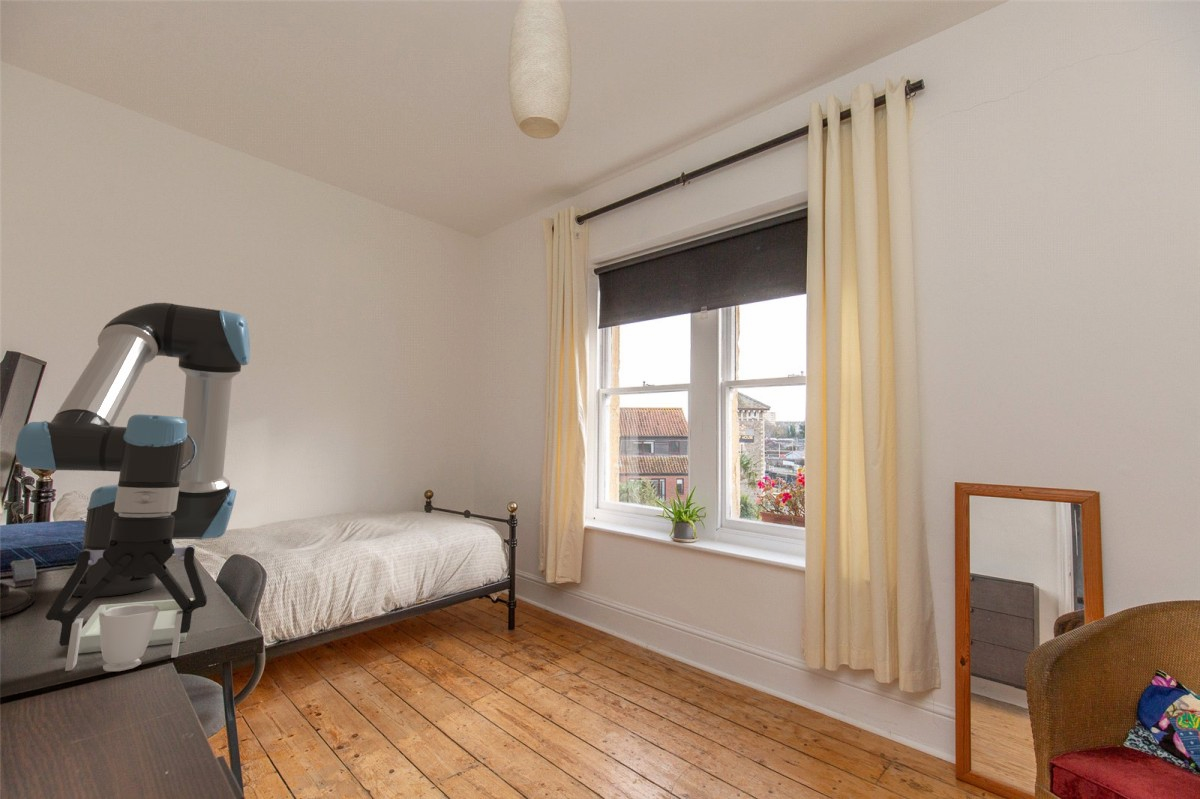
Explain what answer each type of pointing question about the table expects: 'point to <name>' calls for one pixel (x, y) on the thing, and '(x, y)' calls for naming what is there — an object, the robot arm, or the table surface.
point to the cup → (126, 634)
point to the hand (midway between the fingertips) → (124, 660)
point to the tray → (160, 633)
